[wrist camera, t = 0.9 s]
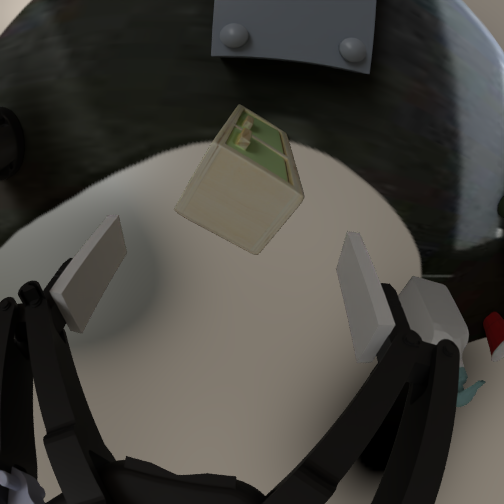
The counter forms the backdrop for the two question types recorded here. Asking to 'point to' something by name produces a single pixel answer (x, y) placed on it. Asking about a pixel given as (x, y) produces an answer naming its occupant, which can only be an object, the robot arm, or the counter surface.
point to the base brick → (296, 31)
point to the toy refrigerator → (244, 183)
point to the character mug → (501, 207)
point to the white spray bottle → (437, 323)
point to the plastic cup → (495, 335)
